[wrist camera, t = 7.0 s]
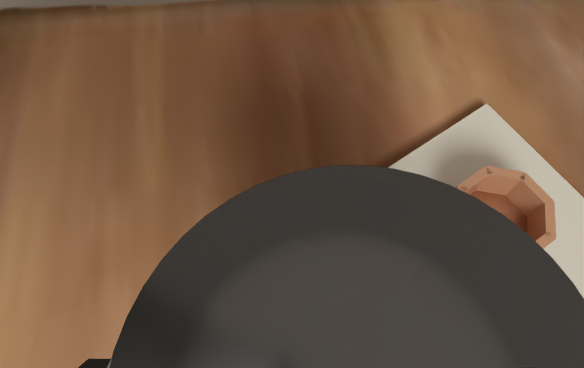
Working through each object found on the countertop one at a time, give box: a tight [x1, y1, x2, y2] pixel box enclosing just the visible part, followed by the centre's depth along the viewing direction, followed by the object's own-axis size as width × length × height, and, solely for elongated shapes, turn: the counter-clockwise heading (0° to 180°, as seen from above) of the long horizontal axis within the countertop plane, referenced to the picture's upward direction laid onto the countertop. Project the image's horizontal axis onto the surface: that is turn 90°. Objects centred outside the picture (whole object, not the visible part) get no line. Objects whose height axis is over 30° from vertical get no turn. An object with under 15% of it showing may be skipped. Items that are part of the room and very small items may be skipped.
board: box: [388, 104, 584, 298], centre depth 33 cm, size 15×15×1 cm
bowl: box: [456, 166, 556, 249], centre depth 31 cm, size 6×6×4 cm
